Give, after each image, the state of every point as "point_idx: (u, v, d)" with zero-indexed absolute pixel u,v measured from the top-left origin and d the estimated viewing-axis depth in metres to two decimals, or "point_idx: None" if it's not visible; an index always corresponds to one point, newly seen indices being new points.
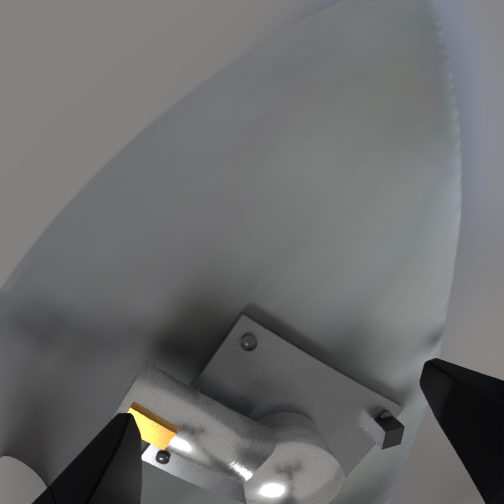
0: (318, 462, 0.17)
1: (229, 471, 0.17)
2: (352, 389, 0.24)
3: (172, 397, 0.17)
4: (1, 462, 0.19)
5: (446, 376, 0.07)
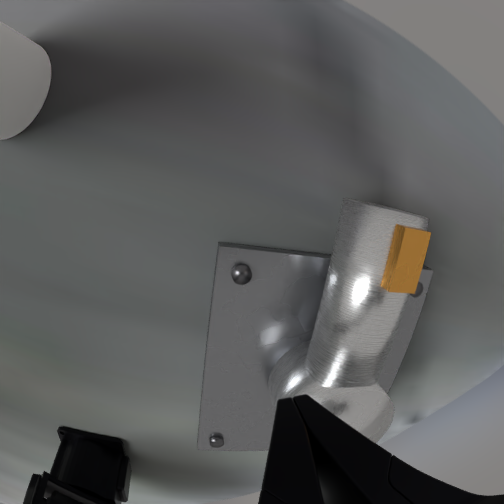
0: (384, 423, 0.17)
1: (355, 366, 0.15)
2: None
3: None
4: (34, 43, 0.13)
5: (303, 420, 0.07)
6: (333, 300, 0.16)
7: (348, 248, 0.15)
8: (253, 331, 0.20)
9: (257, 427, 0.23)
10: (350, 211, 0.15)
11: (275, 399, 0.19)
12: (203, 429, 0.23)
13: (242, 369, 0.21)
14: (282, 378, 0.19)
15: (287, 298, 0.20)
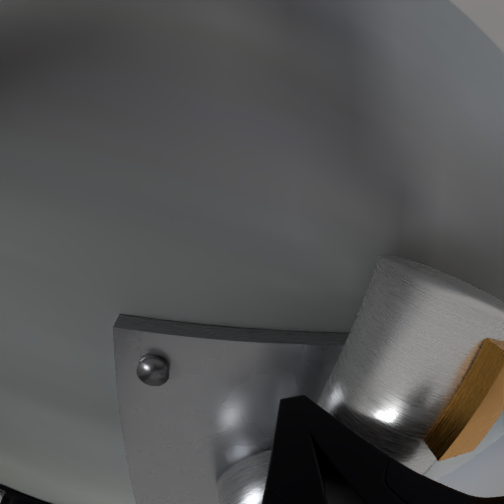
0: None
1: None
2: None
3: None
4: None
5: (300, 421, 0.07)
6: None
7: (379, 368, 0.07)
8: (186, 438, 0.12)
9: None
10: (397, 295, 0.07)
11: None
12: None
13: (178, 473, 0.13)
14: (233, 497, 0.11)
15: (233, 401, 0.12)
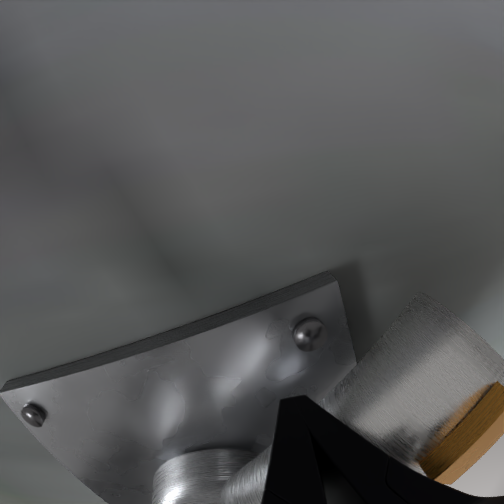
0: None
1: None
2: None
3: None
4: None
5: (300, 421, 0.07)
6: None
7: (403, 386, 0.07)
8: (101, 461, 0.12)
9: None
10: (438, 326, 0.07)
11: None
12: None
13: (129, 492, 0.13)
14: (179, 487, 0.10)
15: (98, 425, 0.11)
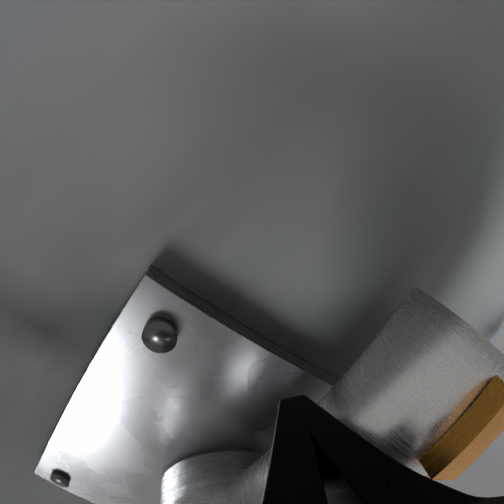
0: None
1: None
2: None
3: None
4: None
5: (300, 421, 0.07)
6: None
7: (399, 383, 0.07)
8: (128, 497, 0.13)
9: None
10: (432, 321, 0.07)
11: None
12: None
13: None
14: (186, 490, 0.10)
15: (97, 469, 0.12)
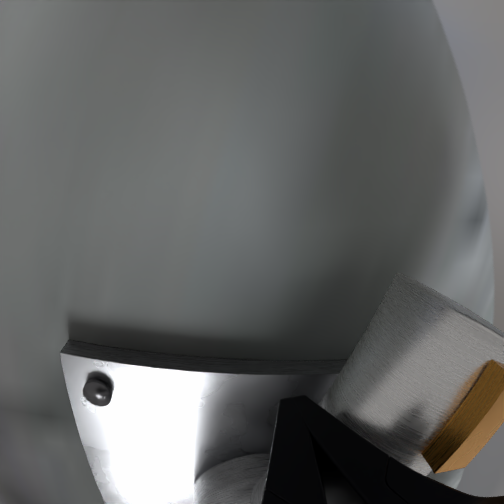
0: None
1: None
2: None
3: None
4: None
5: (300, 421, 0.07)
6: None
7: (388, 380, 0.07)
8: None
9: None
10: (414, 311, 0.07)
11: None
12: None
13: None
14: (213, 498, 0.11)
15: None
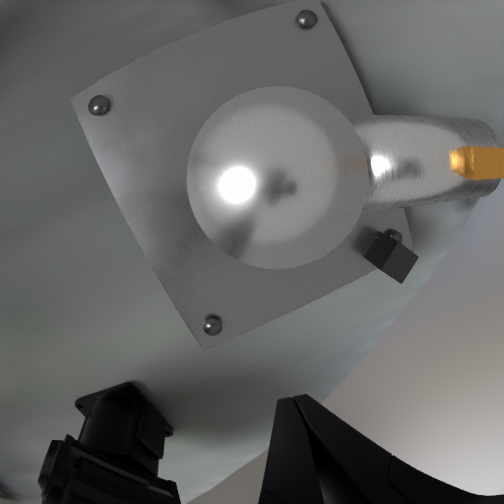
0: (302, 251, 0.12)
1: (388, 148, 0.12)
2: None
3: (466, 196, 0.14)
4: None
5: (303, 420, 0.07)
6: (418, 116, 0.13)
7: (457, 119, 0.13)
8: (147, 152, 0.16)
9: (246, 281, 0.19)
10: (472, 119, 0.14)
11: None
12: (185, 315, 0.20)
13: (166, 204, 0.17)
14: None
15: (157, 98, 0.16)
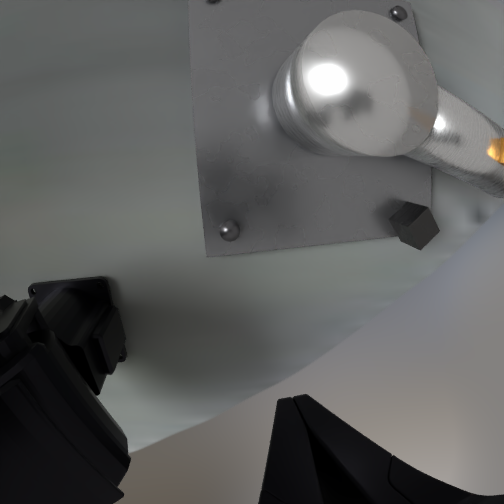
0: (377, 142, 0.12)
1: (451, 106, 0.13)
2: None
3: (493, 184, 0.15)
4: None
5: (303, 420, 0.07)
6: None
7: None
8: (239, 45, 0.16)
9: (280, 195, 0.19)
10: None
11: None
12: (206, 208, 0.18)
13: (237, 93, 0.17)
14: None
15: (265, 11, 0.15)
